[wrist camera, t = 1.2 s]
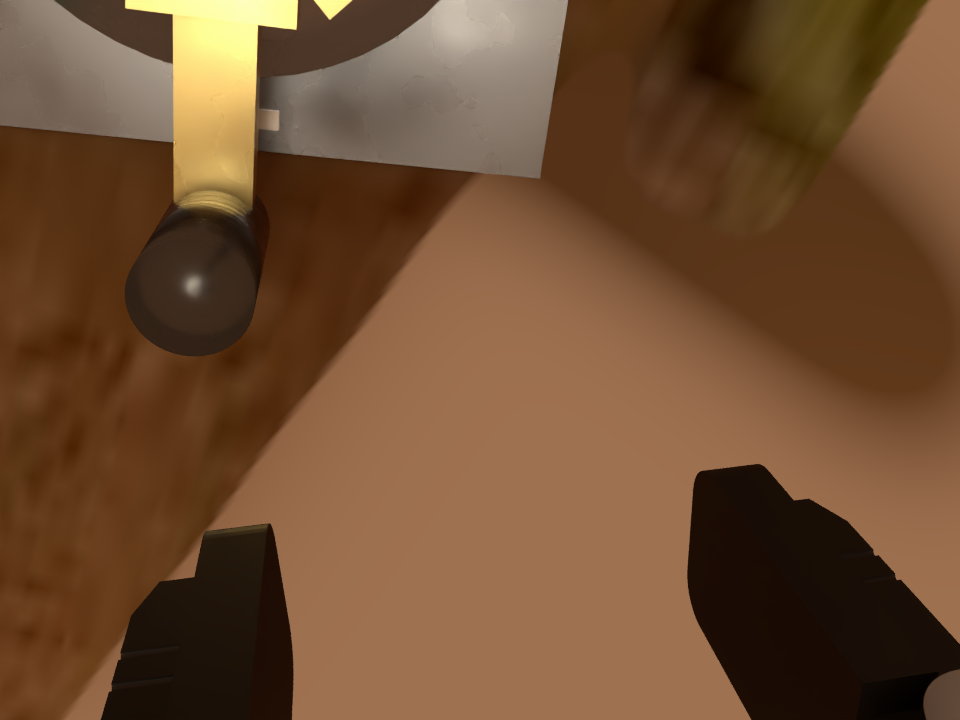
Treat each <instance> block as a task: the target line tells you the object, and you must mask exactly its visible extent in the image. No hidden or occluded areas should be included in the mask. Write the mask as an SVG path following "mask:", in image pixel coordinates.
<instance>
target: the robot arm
mask: <svg viewBox="0 0 960 720" xmlns="http://www.w3.org/2000/svg"><path fill="white" fill-rule="evenodd" d="M687 572H688V573H687V579H688V589H689V596H690V600H691V604H692V608H693V611H694V614H695V617H696V619H697V622H698V624H699V626H700V628H701V629H702V631H703V633H704V635H705V637H706V638H707V640H708V642H709V644H710V646H711V648H712V649H713V651H714V653H715V655H716V657H717V658H718V660H719V662H720V664H721V666H722V667H723V669H724V671H725V673H726V675H727V676H728V678H729V680H730V682H731V684H732V685H733V687H734V689H735V691H736V693H737V695H738V696H739V698H740V700H741V702H742V703H743V705H744V707H745V709H746V711H747V713H748V714H749V716H750V718H751V720H960V644H959V643H958V642H957V641H956V640H955V639H954V637H953V636H952V635H951V634H950V633H949V632H948V631H947V630H946V629H945V628H944V627H943V626H942V624H941V623H940V622H939V621H938V620H937V619H936V618H935V617H934V616H933V614H932V613H931V612H929V610H928V609H927V608H926V607H925V606H924V605H923V604H922V602H921V601H920V600H919V599H918V598H917V597H916V596H915V595H914V594H913V593H912V592H911V590H910V589H909V588H908V587H907V586H906V585H905V584H904V583H903V582H902V581H901V580H896V578H895V573H894V572H893V571H892V570H891V568H890V567H889V566H888V565H887V564H886V563H885V562H884V561H883V560H882V559H881V558H880V557H879V555H878V556H875V555H874V553H873V549H872V548H871V547H870V546H869V544H868V543H867V542H866V541H865V540H864V539H863V538H862V537H861V536H860V535H859V533H858V532H857V531H856V530H855V529H854V528H853V527H852V526H851V525H850V524H849V523H848V521H846V520H844V519H842V518H841V517H839V516H838V515H836V514H834V513H833V512H831V511H829V510H827V509H826V508H824V507H822V506H820V505H819V504H817V503H815V502H814V501H812V500H810V499H803V500H795V501H794V500H793V499H792V498H791V497H790V496H789V494H788V493H787V492H786V491H785V490H784V488H783V487H782V486H781V485H780V484H779V483H778V482H777V480H776V479H775V478H774V477H773V476H772V474H771V473H770V472H769V471H768V470H767V469H766V468H765V467H764V466H762V465H760V464H754V465H746V466H738V467H730V468H723V469H714V470H706V471H701V472H699V473H698V474H697V476H696V479H695V482H694V488H693V501H692V515H691V528H690V543H689V556H688V571H687ZM292 703H293V651H292V640H291V632H290V624H289V619H288V613H287V607H286V601H285V595H284V589H283V583H282V577H281V571H280V565H279V559H278V554H277V548H276V542H275V536H274V532H273V528H272V526H271V524H261V525H253V526H245V527H236V528H229V529H220V530H212V531H206V532H205V533H204V535H203V539H202V543H201V548H200V553H199V558H198V563H197V567H196V572H195V577H193V578H185V579H178V580H170V581H162V582H159V583H158V584H157V586H156V587H155V588H154V589H153V590H152V592H151V593H150V594H149V595H148V596H147V598H146V599H145V600H144V601H143V602H142V604H141V605H140V606H139V607H138V608H137V609H136V611H135V612H134V613H133V614H132V615H131V618H130V622H129V625H128V629H127V632H126V635H125V639H124V643H123V646H122V649H121V660H118V663H117V666H116V670H115V673H114V677H113V680H112V691H111V692H109V694H108V697H107V701H106V704H105V707H104V711H103V715H102V718H101V720H292Z"/></svg>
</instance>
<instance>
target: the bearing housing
mask: <svg viewBox="0 0 960 720" xmlns="http://www.w3.org/2000/svg"><path fill="white" fill-rule="evenodd" d="M567 4H568V0H352V1H351V2H350V3H349V4H348V5H346V6H345V7H344V8H343V9H342V10H341V11H339V12H338V13H337V14H336V15H335V16H334V17H332V18H331V19H330V20H329V18H328V17H327V16H326V15H325V13H324V12H323V11H322V10H321V8H320V7H319V6H318V5H317V3H316V2H315V1H314V0H301V4H300V21H299V24H298V27H297V30H294V29H286V28H278V27H270V26H263V25H262V36H261V68H260V99H259V131H258V151H266V152H276V153H286V154H296V155H307V156H317V157H327V158H337V159H347V160H357V161H367V162H377V163H387V164H398V165H408V166H418V167H428V168H438V169H448V170H458V171H468V172H478V173H490V174H499V175H509V176H519V177H530V178H540V172H541V167H542V160H543V155H544V148H545V142H546V136H547V129H548V123H549V117H550V111H551V104H552V98H553V92H554V85H555V79H556V73H557V67H558V60H559V54H560V48H561V41H562V35H563V29H564V22H565V16H566V10H567ZM0 125H3V126H13V127H24V128H34V129H44V130H54V131H64V132H74V133H84V134H94V135H104V136H115V137H125V138H135V139H145V140H155V141H165V142H174V127H173V14H167V13H159V12H151V11H143V10H135V9H127V8H125V0H0Z"/></svg>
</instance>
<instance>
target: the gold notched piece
mask: <svg viewBox="0 0 960 720" xmlns="http://www.w3.org/2000/svg"><path fill="white" fill-rule="evenodd" d="M314 1H315V2H316V3H317V5H318V6H319V7H320V8H321V10H322V11H323V12H324V13H325V15H326V16H327V17H328V18H329V20H330V19H331V18H332V17H334V16H335V15H336V14H337V13H338V12H339V11H341V10H342V9H343V8H344V7H345V6H346V5H348V4H349V3H350V2H351V1H352V0H314ZM300 4H301V0H125V8H127V9H135V10H143V11H151V12H159V13H167V14H173V127H174V200H173V201H172V203H171V204H170V206H169V208H168V209H167V211H166V213H165V214H164V216H163V218H162V219H161V221H160V222H159V224H158V226H157V227H156V229H155V231H154V232H153V234H152V236H151V237H150V239H149V241H148V242H147V244H146V245H145V247H144V249H143V250H142V252H141V254H140V255H139V257H138V259H137V260H136V262H135V263H134V265H133V267H132V269H131V271H130V272H129V275H128V278H127V281H126V286H125V301H126V306H127V310H128V313H129V315H130V318H131V319H132V321H133V323H134V325H135V326H136V327H137V329H138V330H139V331H140V332H141V333H142V334H143V335H144V337H146V338H147V339H148V340H149V341H150V342H152V343H153V344H155V345H156V346H158V347H160V348H162V349H164V350H166V351H169V352H172V353H175V354H179V355H185V356H204V355H210V354H214V353H217V352H219V351H222V350H224V349H226V348H228V347H229V346H231V345H232V344H234V343H235V342H236V341H237V340H238V339H239V338H241V336H242V335H243V334H244V333H245V331H246V330H247V328H248V326H249V325H250V322H251V320H252V317H253V313H254V308H255V303H256V298H257V293H258V288H259V283H260V278H261V273H262V268H263V263H264V258H265V253H266V248H267V243H268V238H269V231H270V225H269V218H268V214H267V211H266V209H265V207H264V205H263V203H262V202H261V200H260V199H259V197H258V196H257V195H256V194H257V162H258V131H259V99H260V68H261V36H262V25H263V26H270V27H278V28H286V29H294V30H297V27H298V24H299V21H300Z"/></svg>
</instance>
